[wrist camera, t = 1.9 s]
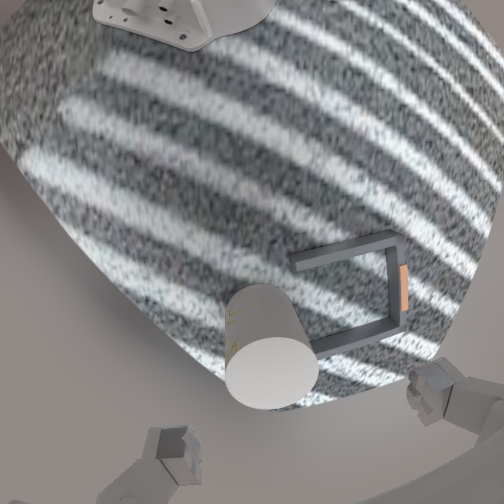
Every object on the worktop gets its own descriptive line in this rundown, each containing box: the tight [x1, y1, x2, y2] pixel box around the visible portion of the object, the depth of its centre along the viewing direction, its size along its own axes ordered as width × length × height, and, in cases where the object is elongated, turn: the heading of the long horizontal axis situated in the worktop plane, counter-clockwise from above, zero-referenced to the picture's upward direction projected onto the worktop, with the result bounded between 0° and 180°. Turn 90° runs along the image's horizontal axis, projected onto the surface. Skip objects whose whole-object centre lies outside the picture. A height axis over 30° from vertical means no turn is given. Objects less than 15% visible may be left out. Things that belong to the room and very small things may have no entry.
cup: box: [225, 284, 319, 409], centre depth 31 cm, size 8×8×12 cm
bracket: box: [290, 230, 408, 360], centre depth 35 cm, size 13×13×4 cm
